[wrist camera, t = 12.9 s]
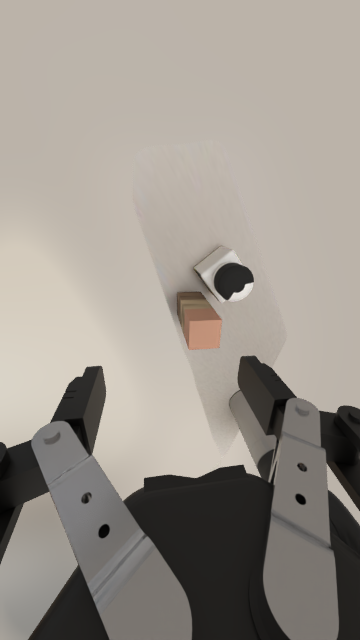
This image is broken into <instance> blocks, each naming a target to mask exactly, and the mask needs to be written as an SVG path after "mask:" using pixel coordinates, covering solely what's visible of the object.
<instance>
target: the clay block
mask: <svg viewBox="0 0 360 640" xmlns="http://www.w3.org/2000/svg"><path fill="white" fill-rule="evenodd" d="M221 324H222V319H221V318H220V317H219V315H218V314H217V313H216V311H215V310H214V309H213V308H206V309H185V317H184V336H185V339H186V342H187V346H188V349H189V350H194V349H210V348H219V345H220V334H221Z"/></svg>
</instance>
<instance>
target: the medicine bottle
mask: <svg viewBox="0 0 360 640" xmlns="http://www.w3.org/2000/svg"><path fill="white" fill-rule="evenodd" d="M194 270H195V272H196V273H197V274H198V276H199V277H200V278H201V280H202V281H203V282H204V284H205V285H206V286H207V288H208V289H209V290H210V292H211V293H212V294H213V295H214V296H215V297H216V298H217V300H218V301H219V302H220V303H224V302H225V301H226V300H227V301H231V302H236V301H240V300H242V299H244V298H245V297H246V296H247V295H248V294H249V293H250V292H251V290H252V288H253V284H254V278H253V274H252V272H251V271H250V270H249V269H248V268H247V267H245V266H243V264H242V262H241V261H240V259H239V258H238V256H237V254H236V253H235V251H234V250H232V249H229V248H226V247H223V246H220V247H219V248H218V249H216V250H215V251H214V252H213V253H211V254H210V255H209V256H208V257H206V258H205V259H204V260H203V261H201V262H200V263H199V264H198V265H196V266H195V267H194Z"/></svg>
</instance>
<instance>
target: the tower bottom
mask: <svg viewBox="0 0 360 640" xmlns="http://www.w3.org/2000/svg"><path fill="white" fill-rule="evenodd" d="M197 299H206V298H205V297H204V296H203V295H202V293H201V292H178V293H177V315H178V318H179V321H180V307H181V300H197Z"/></svg>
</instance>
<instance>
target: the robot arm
mask: <svg viewBox="0 0 360 640" xmlns="http://www.w3.org/2000/svg"><path fill="white" fill-rule="evenodd" d="M238 385H239V388H240V391H239V392H237V393H236V394H234V395H233V396H232V398H231V400H230V404H229V405H230V408H231V411H232V413H233V415H234V417H235V420H236V422H237V424H238V426H239V429H240V431H241V433H242V435H243V437H244V440H245V442H246V444H247V446H248V449H249V451H250V453H251V456H252V458H253V460H254V462H255V464H256V467H257V469H258V471H259V473H260V475H261V478H260V477H258V476H255V475H252V474H248V473H246V470H245V468H244V465H237V466H229V467H223V468H218V469H216V470H214V471H212V472H210V473H207V474H205V475H203V476H201V477H198V478H190V477H182V476H176V475H163V476H156V477H149V478H144V487H143V488H141V489H139V490H137V491H136V492H134V493H132V494H131V495H130V496H129V497H127V498H126V499H125V500H124V501H122V499H121V498H120V496H119V495H118V493H117V492H116V490H115V488H114V487H113V485H112V484H111V482H110V481H109V479H108V478H107V476H106V475H105V473H104V471H103V470H102V468H101V467H100V465H99V464H98V462H97V461H96V459H95V458H94V456H93V455H92V453H93V448H94V444H95V440H96V436H97V432H98V428H99V423H100V419H101V415H102V411H103V407H104V403H105V397H106V387H105V381H104V375H103V369H102V366H93V367H87V368H86V369H85V372H84V374H83V376H82V377H76V378H75V379H74V380H73V381H72V382H71V383H69V385H68V387H67V389H66V391H65V393H64V395H63V397H62V400H61V402H60V404H59V406H58V408H57V410H56V412H55V414H54V416H53V418H52V420H51V422H50V423H49V424H47V425H45V426H44V427H42V428H41V429H40V430H39V431H38V432H37V433H36V434H35V435H34V437H33V439H32V440H29V441H27V442H24V443H21V444H19V445H16V446H13V447H10V448H6V446H5V444H3V443H2V442H0V564H1V561H2V558H3V555H4V553H5V551H6V548H7V545H8V543H9V540H10V538H11V535H12V533H13V530H14V527H15V525H16V522H17V520H18V517H19V514H20V512H21V509H22V507H23V504H24V503H25V502H27V501H29V500H32V499H34V498H36V497H38V496H40V495H43V494H45V493H47V492H50V494H51V497H52V499H53V502H54V504H55V507H56V509H57V512H58V514H59V517H60V519H61V522H62V524H63V527H64V529H65V532H66V534H67V537H68V539H69V542H70V545H71V547H72V549H73V552H74V555H75V557H76V560H77V562H78V566H77V568H76V569H75V571H74V572H73V574H72V575H71V577H70V578H69V580H68V581H67V582H66V584H65V585H64V587H63V588H62V590H61V591H60V593H59V594H58V596H57V597H56V599H55V600H54V602H53V603H52V605H51V606H50V608H49V609H48V611H47V612H46V614H45V615H44V617H43V618H42V620H41V621H40V623H39V624H38V626H37V627H36V629H35V630H34V631H33V633H32V635H31V636H30V637H29V639H28V640H360V526H359V524H358V523H357V521H356V520H355V519H354V517H353V516H352V515H351V514H350V512H349V511H348V509H347V508H346V507H345V506H344V505H343V503H342V502H341V501H340V500H339V499H338V498H337V497H336V496H335V495H334V494H333V493H332V492H330V491H329V490H328V488H327V466H326V463H327V464H328V466H329V467H330V469H331V470H332V471H333V473H334V474H335V476H336V477H337V479H338V480H339V482H340V483H341V485H342V486H343V488H344V489H345V490H346V492H347V493H348V495H349V496H350V498H351V499H352V501H353V502H354V504H355V505H356V507H357V508H358V509H359V511H360V409H358V408H355V407H352V406H340V407H339V408H338V410H337V413H329V412H324V411H318V409H317V408H316V407H315V406H314V405H313V404H312V403H310V402H308V401H306V400H304V399H300V398H297V397H296V396H295V395H294V394H293V392H292V391H291V390H290V389H289V388H288V387H287V386H286V384H285V383H284V382H283V381H282V380H281V378H280V377H279V376H277V374H276V373H275V371H274V370H273V369H272V368H271V367H269V366H267V365H266V364H264V363H262V364H261V362H260V361H259V360H258V359H257V357H256V356H242V357H241V359H240V365H239V372H238Z"/></svg>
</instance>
